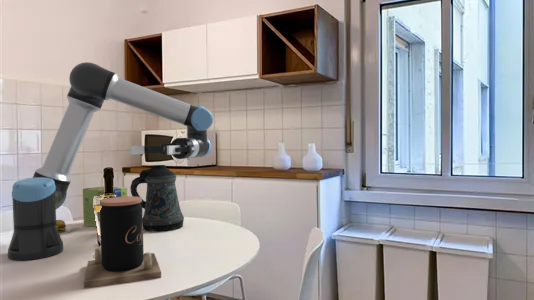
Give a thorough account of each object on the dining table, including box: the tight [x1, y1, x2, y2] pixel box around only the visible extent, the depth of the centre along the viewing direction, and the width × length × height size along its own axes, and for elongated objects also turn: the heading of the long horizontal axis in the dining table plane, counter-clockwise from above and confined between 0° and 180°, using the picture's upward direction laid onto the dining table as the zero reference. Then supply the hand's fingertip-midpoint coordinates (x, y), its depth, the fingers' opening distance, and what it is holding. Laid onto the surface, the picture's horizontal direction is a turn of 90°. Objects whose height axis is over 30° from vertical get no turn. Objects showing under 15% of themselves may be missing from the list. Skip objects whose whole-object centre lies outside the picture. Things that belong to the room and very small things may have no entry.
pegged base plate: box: [83, 247, 162, 289], centre depth 107 cm, size 18×18×6 cm
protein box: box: [82, 186, 128, 228], centre depth 166 cm, size 10×15×16 cm
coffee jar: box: [99, 195, 145, 272], centre depth 106 cm, size 11×11×18 cm
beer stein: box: [129, 164, 185, 233], centre depth 158 cm, size 16×19×25 cm
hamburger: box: [56, 219, 72, 235], centre depth 154 cm, size 12×12×6 cm
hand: (149, 150), depth 123 cm, fingers open, 13 cm apart
